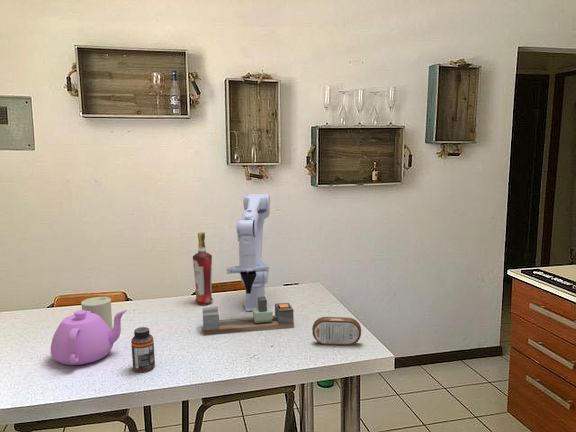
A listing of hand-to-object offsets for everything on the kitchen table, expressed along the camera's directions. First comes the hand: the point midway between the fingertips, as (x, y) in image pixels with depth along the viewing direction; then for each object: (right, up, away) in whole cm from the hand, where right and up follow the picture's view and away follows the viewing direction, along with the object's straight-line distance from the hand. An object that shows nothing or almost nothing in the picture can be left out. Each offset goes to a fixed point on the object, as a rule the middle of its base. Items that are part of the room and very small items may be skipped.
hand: (248, 292), depth 170 cm
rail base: (0, -11, -3) cm, 11 cm away
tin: (+29, -13, -19) cm, 37 cm away
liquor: (-19, -8, +22) cm, 30 cm away
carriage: (+5, -9, -2) cm, 11 cm away
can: (-49, -13, -9) cm, 51 cm away
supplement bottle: (-26, -16, -34) cm, 46 cm away
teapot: (-44, -15, -25) cm, 53 cm away
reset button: (+12, -8, -1) cm, 15 cm away
